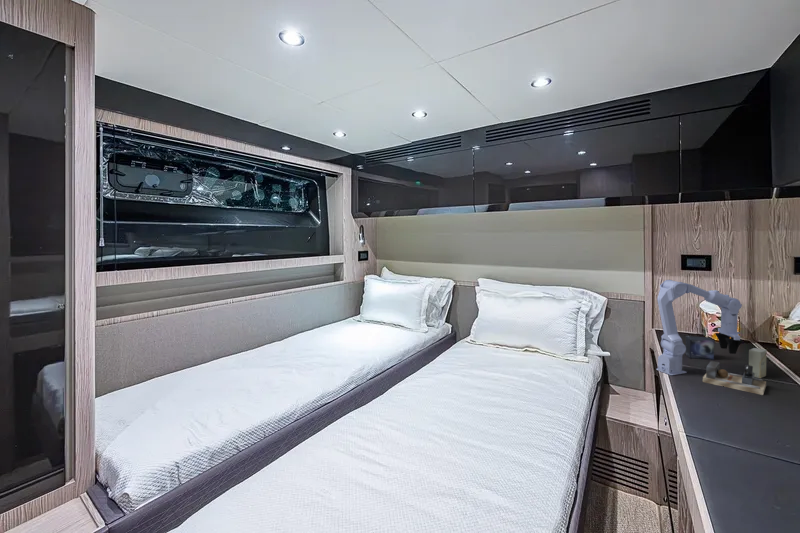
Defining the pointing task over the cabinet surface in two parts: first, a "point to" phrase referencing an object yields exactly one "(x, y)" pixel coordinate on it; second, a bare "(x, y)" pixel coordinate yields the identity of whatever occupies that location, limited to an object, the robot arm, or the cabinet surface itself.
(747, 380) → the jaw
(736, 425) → the cabinet surface
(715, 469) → the cabinet surface
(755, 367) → the skincare box
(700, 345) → the small box
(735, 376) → the press
